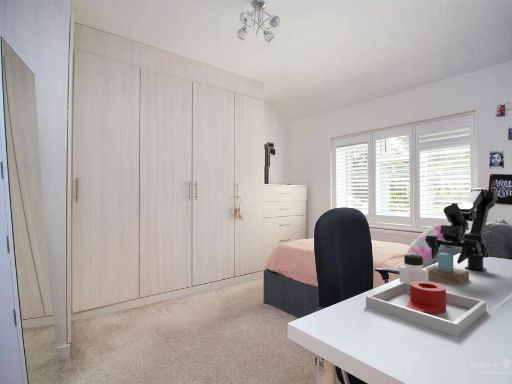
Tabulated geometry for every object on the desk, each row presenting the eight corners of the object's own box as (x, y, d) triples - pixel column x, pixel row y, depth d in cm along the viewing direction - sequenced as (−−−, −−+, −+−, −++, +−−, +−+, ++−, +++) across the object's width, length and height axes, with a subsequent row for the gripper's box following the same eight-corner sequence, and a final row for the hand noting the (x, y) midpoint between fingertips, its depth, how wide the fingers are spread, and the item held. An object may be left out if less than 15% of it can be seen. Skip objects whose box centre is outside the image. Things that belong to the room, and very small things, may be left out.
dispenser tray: (403, 289, 103) (403, 281, 103) (486, 311, 84) (486, 301, 84) (365, 306, 88) (365, 296, 88) (456, 336, 69) (456, 324, 69)
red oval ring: (417, 299, 94) (416, 279, 94) (450, 308, 87) (450, 286, 87) (392, 314, 83) (392, 291, 83) (428, 326, 75) (428, 300, 75)
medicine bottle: (429, 290, 102) (428, 257, 102) (408, 290, 102) (408, 256, 102) (418, 284, 109) (417, 252, 109) (399, 284, 110) (399, 252, 110)
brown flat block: (435, 274, 123) (435, 264, 123) (468, 280, 113) (468, 270, 113) (423, 279, 115) (423, 269, 115) (458, 287, 106) (457, 276, 106)
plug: (442, 276, 117) (442, 252, 117) (453, 279, 114) (453, 253, 114) (438, 278, 115) (438, 253, 115) (449, 280, 111) (449, 255, 112)
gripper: (426, 216, 125) (413, 244, 119) (478, 219, 109) (466, 251, 103) (435, 233, 129) (423, 260, 123) (486, 238, 114) (475, 270, 107)
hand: (444, 260), depth 114 cm, fingers open, 9 cm apart
